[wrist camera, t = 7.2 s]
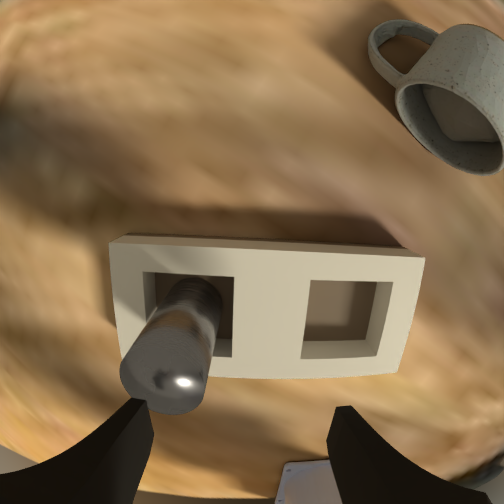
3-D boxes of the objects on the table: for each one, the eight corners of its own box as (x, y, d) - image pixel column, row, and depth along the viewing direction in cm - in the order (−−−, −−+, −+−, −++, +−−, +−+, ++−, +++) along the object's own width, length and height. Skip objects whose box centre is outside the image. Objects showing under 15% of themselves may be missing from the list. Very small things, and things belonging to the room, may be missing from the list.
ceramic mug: (487, 105, 16) (553, 90, 8) (450, 177, 17) (526, 181, 10) (390, 10, 14) (437, -42, 7) (337, 73, 16) (382, 18, 8)
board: (381, 350, 20) (396, 372, 17) (137, 343, 20) (123, 365, 17) (402, 246, 18) (425, 257, 15) (128, 233, 18) (108, 242, 15)
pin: (226, 326, 19) (212, 414, 11) (174, 331, 19) (135, 413, 11) (217, 274, 18) (192, 344, 10) (162, 280, 18) (108, 347, 10)
